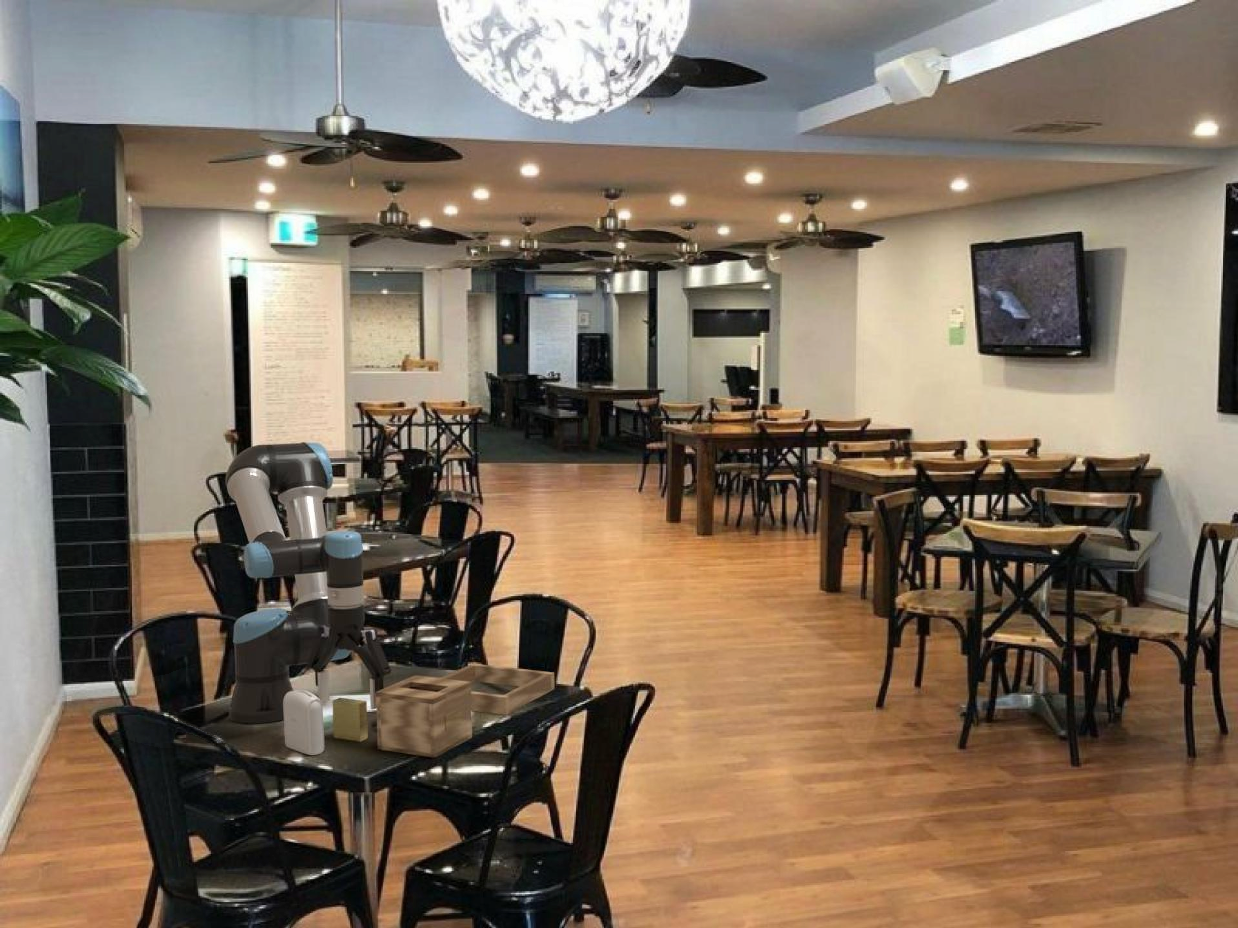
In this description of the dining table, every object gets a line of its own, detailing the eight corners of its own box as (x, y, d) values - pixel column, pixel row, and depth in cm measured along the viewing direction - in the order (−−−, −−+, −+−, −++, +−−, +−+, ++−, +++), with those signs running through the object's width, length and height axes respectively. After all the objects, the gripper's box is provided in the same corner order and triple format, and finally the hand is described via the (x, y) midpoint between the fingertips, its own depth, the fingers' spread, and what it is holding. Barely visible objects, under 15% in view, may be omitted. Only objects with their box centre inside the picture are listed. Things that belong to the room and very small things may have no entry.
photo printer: (282, 746, 248) (279, 688, 247) (300, 741, 251) (297, 684, 250) (309, 757, 241) (307, 697, 240) (327, 752, 244) (325, 693, 243)
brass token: (333, 737, 254) (332, 700, 253) (341, 733, 256) (339, 697, 255) (360, 741, 251) (359, 704, 250) (367, 737, 253) (366, 701, 252)
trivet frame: (420, 703, 277) (419, 686, 277) (473, 679, 298) (472, 663, 298) (505, 714, 268) (505, 697, 267) (554, 688, 288) (554, 672, 288)
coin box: (377, 748, 245) (375, 691, 244) (417, 729, 258) (415, 675, 257) (435, 757, 239) (433, 699, 238) (473, 737, 252) (471, 681, 251)
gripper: (287, 604, 253) (291, 703, 254) (383, 612, 242) (387, 715, 244) (310, 598, 260) (314, 694, 261) (405, 605, 249) (409, 705, 250)
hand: (349, 704), depth 252 cm, fingers open, 13 cm apart
